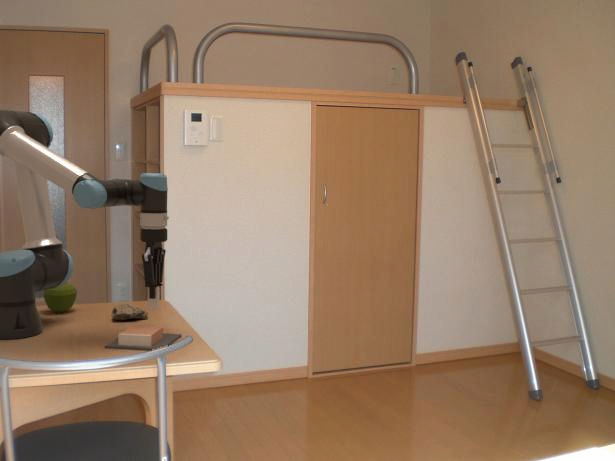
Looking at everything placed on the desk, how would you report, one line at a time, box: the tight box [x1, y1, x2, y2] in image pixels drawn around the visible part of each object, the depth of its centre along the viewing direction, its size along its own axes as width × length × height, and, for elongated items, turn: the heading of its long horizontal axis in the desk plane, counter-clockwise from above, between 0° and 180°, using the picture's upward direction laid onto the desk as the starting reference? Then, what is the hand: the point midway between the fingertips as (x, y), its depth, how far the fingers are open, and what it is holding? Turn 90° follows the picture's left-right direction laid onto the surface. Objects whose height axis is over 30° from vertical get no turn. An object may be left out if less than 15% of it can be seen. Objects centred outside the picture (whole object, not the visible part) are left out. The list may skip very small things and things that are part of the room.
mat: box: [104, 332, 182, 351], centre depth 193 cm, size 16×16×1 cm
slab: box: [117, 325, 164, 347], centre depth 191 cm, size 9×3×10 cm
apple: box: [42, 282, 78, 314], centre depth 229 cm, size 11×10×10 cm
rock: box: [111, 303, 148, 322], centre depth 221 cm, size 11×11×4 cm
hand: (154, 308), depth 200 cm, fingers closed
